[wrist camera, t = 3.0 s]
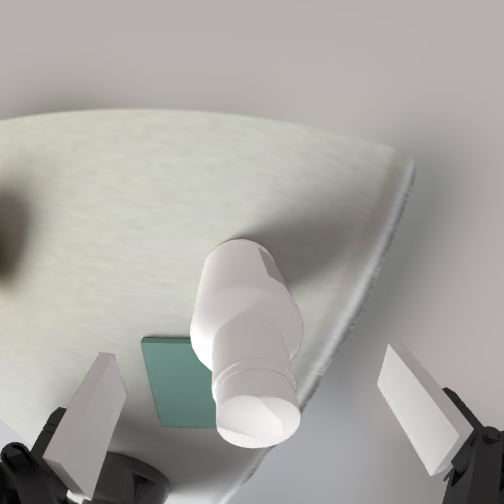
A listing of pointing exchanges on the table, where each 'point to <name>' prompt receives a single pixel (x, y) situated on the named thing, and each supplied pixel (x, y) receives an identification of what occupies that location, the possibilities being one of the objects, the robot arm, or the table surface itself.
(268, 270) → the spray bottle
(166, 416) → the mat
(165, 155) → the table surface
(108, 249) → the table surface
